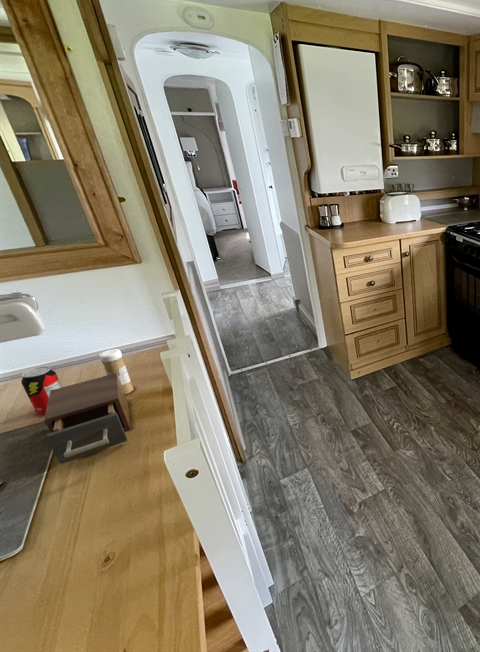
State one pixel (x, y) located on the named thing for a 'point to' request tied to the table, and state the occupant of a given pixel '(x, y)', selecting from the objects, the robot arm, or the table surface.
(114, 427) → the drawer
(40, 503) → the table surface
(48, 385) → the beverage can
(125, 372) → the sprinkles bottle
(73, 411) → the cabinet
